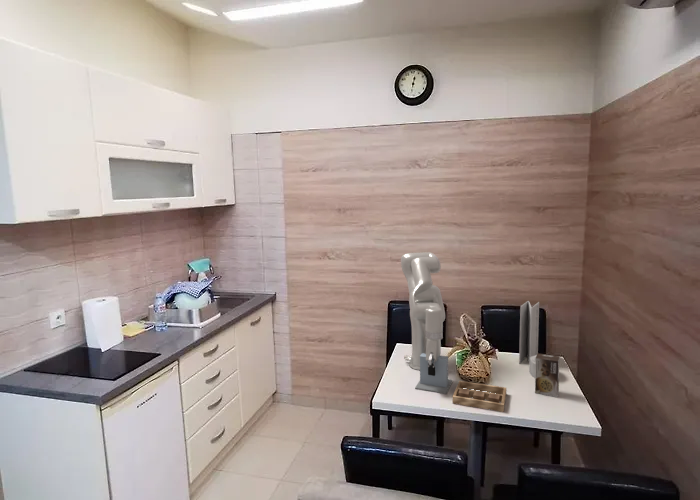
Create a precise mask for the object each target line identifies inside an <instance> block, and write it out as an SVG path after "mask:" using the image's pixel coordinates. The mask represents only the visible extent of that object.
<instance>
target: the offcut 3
mask: <svg viewBox="0 0 700 500" xmlns="http://www.w3.org/2000/svg"><path fill="white" fill-rule="evenodd" d="M487 401H490V402H496V403H501V402H500V395H497V394H491V393H490V394H489V399H488V400H487Z"/></svg>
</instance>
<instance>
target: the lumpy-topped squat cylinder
mask: <svg viewBox="0 0 700 500" xmlns="http://www.w3.org/2000/svg"><path fill="white" fill-rule="evenodd" d="M536 356H537V355H535V356H531V357H530V365H529V374H530V376H531V377H532V378H534V379H535V370H536Z"/></svg>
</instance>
